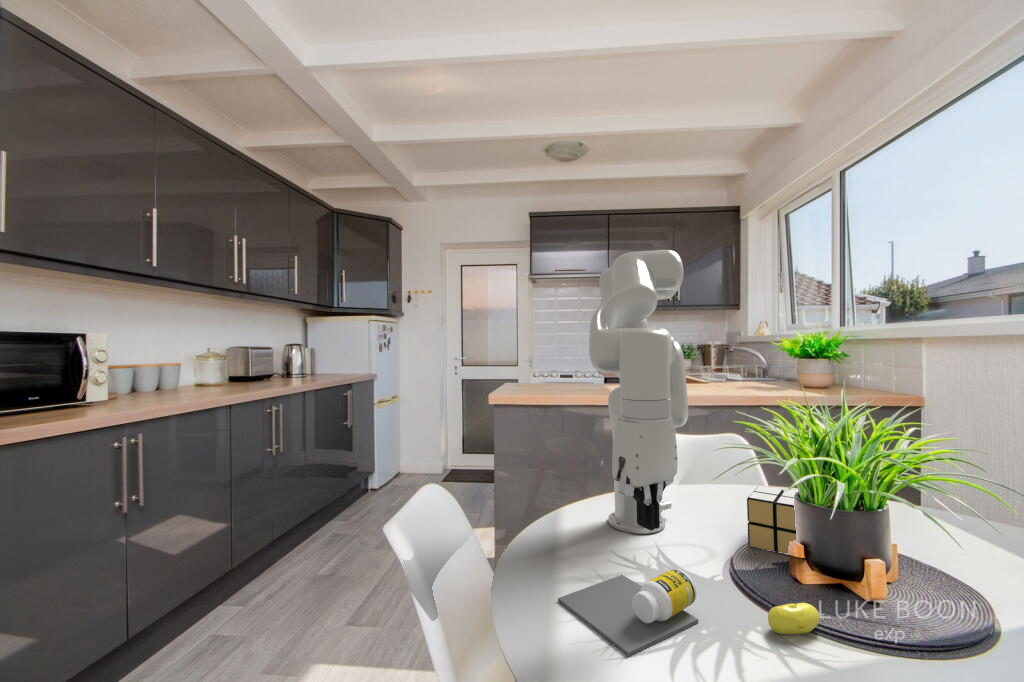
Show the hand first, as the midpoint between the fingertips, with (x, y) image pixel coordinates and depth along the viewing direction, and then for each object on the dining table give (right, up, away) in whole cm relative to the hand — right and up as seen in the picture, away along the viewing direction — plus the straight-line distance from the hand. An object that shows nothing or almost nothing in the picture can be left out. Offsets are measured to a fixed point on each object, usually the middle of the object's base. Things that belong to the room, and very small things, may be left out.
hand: (648, 526), depth 73 cm
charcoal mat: (-4, -13, 0) cm, 14 cm away
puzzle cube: (+33, -13, +22) cm, 42 cm away
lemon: (+19, -13, -6) cm, 24 cm away
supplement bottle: (+6, -10, +1) cm, 11 cm away
